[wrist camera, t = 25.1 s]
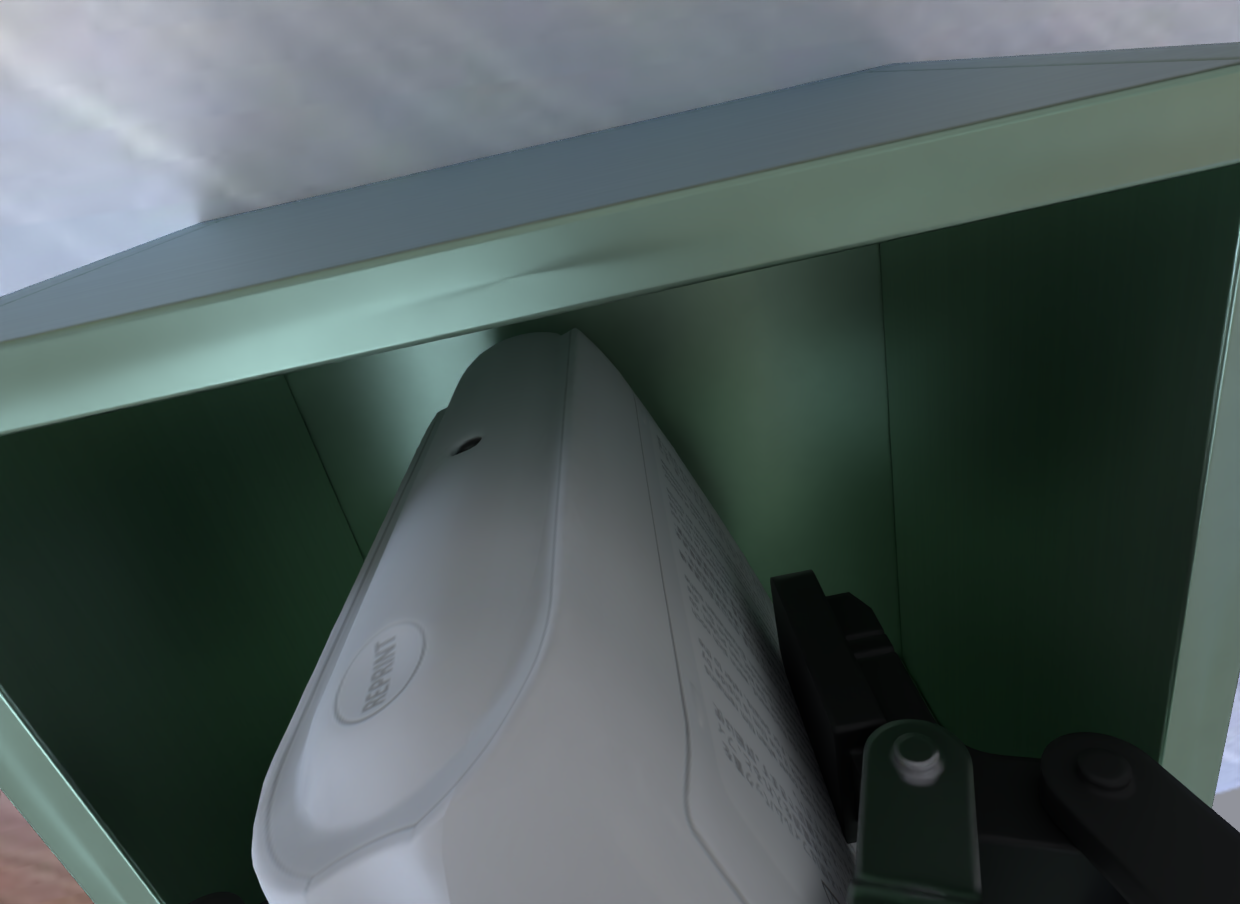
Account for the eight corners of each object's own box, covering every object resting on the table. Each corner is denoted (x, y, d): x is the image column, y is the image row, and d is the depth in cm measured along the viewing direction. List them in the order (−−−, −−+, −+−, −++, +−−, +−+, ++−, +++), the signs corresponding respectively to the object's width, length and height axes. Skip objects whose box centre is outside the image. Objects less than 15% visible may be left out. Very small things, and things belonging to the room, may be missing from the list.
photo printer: (403, 392, 16) (-2, 1109, 5) (574, 282, 15) (564, 841, 4) (654, 698, 20) (750, 1471, 9) (800, 625, 19) (1107, 1375, 8)
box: (196, 223, 17) (-313, 412, 7) (896, 62, 16) (1374, 33, 7) (430, 750, 24) (334, 1198, 15) (920, 654, 24) (1163, 1055, 14)
